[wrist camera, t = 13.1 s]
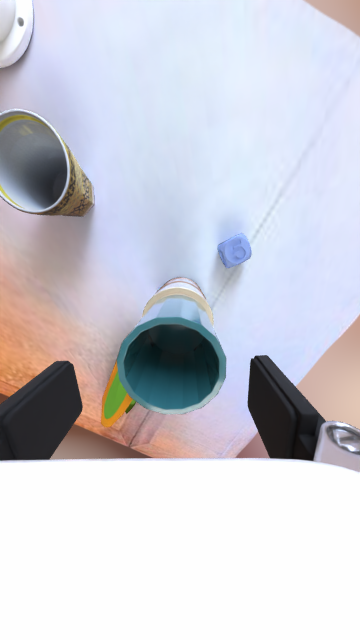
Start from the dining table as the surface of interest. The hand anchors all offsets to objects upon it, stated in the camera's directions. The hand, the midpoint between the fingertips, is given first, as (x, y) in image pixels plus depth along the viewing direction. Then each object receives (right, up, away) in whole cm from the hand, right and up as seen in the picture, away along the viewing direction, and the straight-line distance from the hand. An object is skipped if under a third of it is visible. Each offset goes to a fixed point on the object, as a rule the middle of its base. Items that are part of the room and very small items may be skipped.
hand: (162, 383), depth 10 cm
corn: (-10, -9, +31) cm, 34 cm away
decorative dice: (+10, +15, +23) cm, 29 cm away
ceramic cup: (-18, +24, +21) cm, 37 cm away
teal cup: (+1, +3, +11) cm, 11 cm away
